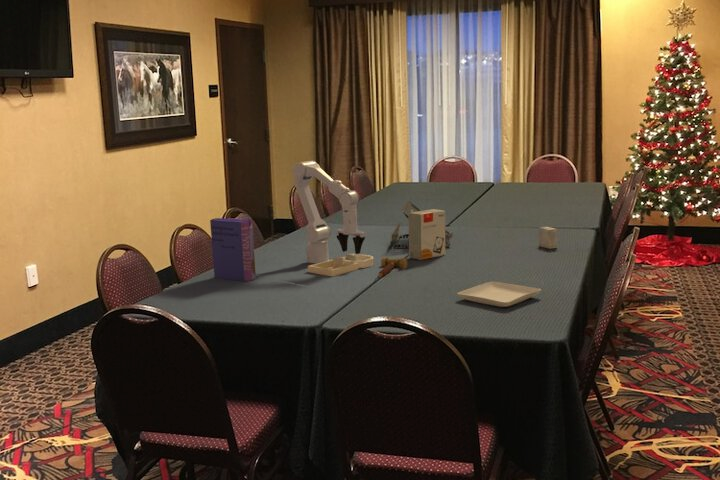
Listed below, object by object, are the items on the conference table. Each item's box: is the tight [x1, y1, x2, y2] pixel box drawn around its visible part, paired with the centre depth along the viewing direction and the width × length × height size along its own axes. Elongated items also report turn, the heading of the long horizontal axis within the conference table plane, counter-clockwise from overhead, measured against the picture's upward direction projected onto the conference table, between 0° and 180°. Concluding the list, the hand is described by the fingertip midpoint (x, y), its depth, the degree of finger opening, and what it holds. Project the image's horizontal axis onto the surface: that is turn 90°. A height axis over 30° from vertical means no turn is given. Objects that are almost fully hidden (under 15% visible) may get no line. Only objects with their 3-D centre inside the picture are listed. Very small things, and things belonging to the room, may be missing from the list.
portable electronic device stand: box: [390, 200, 454, 250], centre depth 374 cm, size 33×28×18 cm
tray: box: [307, 259, 359, 277], centre depth 320 cm, size 14×15×3 cm
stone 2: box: [345, 252, 357, 261], centre depth 328 cm, size 4×4×4 cm
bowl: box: [342, 254, 375, 269], centre depth 329 cm, size 13×13×4 cm
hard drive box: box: [408, 208, 446, 261], centre depth 341 cm, size 16×8×20 cm, turn 129°
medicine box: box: [538, 226, 558, 250], centre depth 351 cm, size 8×4×9 cm, turn 22°
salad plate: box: [457, 281, 542, 308], centre depth 270 cm, size 21×21×3 cm
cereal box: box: [209, 217, 257, 283], centre depth 313 cm, size 17×5×24 cm, turn 59°
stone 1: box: [332, 256, 344, 269], centre depth 322 cm, size 4×4×4 cm
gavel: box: [378, 256, 408, 278], centre depth 316 cm, size 21×5×10 cm
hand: (351, 252), depth 328 cm, fingers open, 7 cm apart
